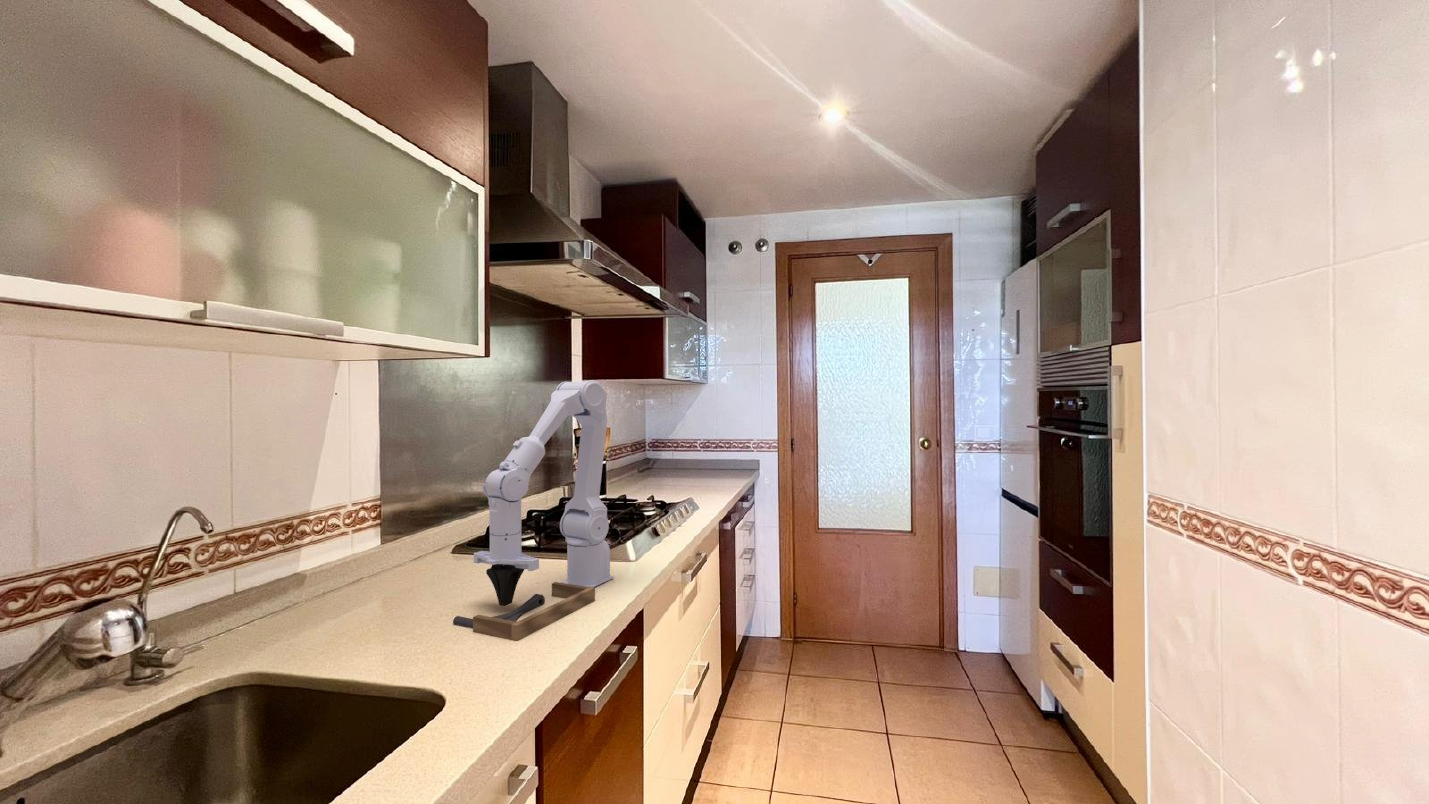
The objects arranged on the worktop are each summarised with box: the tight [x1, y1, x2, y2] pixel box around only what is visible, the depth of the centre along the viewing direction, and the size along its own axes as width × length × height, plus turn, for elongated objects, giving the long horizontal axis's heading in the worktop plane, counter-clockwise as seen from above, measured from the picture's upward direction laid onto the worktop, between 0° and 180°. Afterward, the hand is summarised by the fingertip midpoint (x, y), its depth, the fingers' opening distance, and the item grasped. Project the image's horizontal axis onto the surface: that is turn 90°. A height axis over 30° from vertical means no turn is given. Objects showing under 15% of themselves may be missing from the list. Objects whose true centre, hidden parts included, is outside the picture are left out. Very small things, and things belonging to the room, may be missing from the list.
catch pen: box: [472, 581, 596, 642], centre depth 106 cm, size 21×10×2 cm, turn 156°
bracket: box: [452, 593, 546, 629], centre depth 105 cm, size 14×15×3 cm
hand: (505, 604), depth 109 cm, fingers closed
